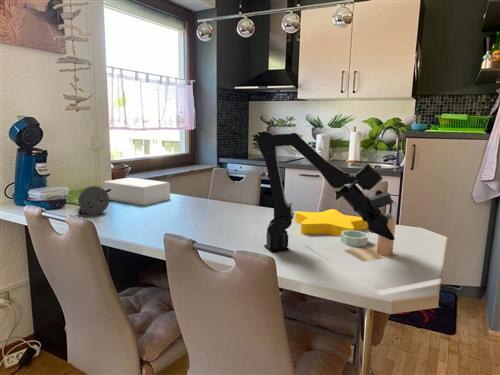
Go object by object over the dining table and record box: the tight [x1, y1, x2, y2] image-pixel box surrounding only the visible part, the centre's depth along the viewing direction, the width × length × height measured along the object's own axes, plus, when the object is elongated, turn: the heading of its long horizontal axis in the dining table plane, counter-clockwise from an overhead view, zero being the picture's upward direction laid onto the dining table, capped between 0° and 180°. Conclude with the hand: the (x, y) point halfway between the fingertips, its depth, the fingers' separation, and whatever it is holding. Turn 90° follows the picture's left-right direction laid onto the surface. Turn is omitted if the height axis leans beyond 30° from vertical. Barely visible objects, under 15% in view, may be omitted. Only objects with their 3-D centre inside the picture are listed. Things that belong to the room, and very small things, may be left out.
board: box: [343, 245, 399, 262], centre depth 116 cm, size 14×10×1 cm
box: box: [103, 177, 171, 206], centre depth 195 cm, size 19×30×10 cm, turn 60°
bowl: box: [339, 230, 369, 248], centre depth 127 cm, size 9×9×4 cm
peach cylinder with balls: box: [376, 212, 397, 256], centre depth 115 cm, size 5×5×13 cm
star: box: [294, 208, 368, 237], centre depth 147 cm, size 30×4×29 cm
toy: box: [77, 185, 111, 215], centre depth 165 cm, size 17×13×30 cm
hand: (390, 235), depth 115 cm, fingers open, 8 cm apart
